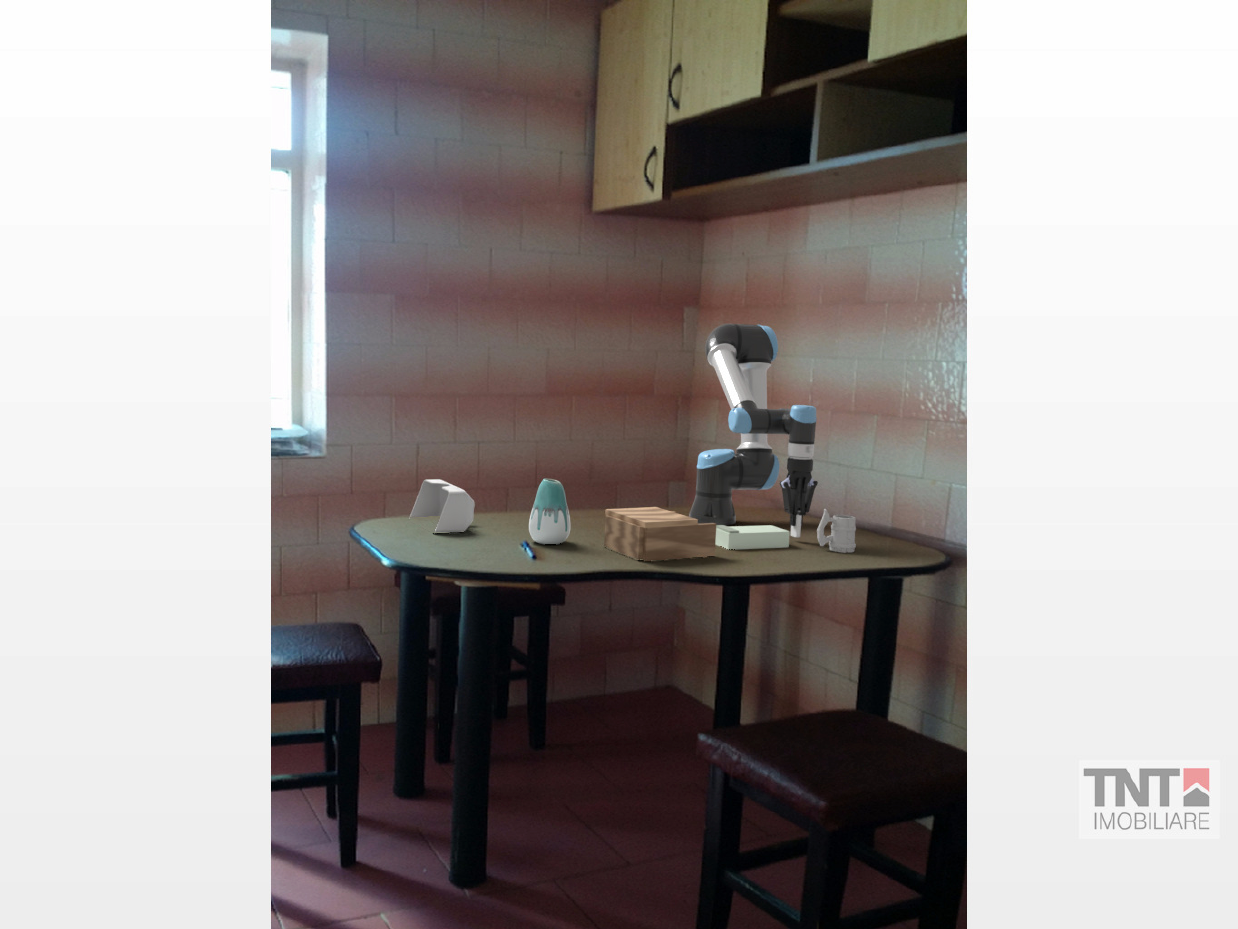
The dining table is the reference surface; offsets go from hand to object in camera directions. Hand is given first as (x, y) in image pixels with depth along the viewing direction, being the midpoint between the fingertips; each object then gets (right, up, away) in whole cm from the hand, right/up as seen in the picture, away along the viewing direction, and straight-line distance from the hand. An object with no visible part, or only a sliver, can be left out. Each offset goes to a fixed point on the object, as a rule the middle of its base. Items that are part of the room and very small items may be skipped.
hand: (795, 536), depth 314 cm
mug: (+10, -4, -10) cm, 14 cm away
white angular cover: (-104, +3, 0) cm, 104 cm away
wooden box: (-42, -3, -24) cm, 48 cm away
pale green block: (-15, -2, -8) cm, 17 cm away
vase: (-72, -1, -19) cm, 74 cm away
